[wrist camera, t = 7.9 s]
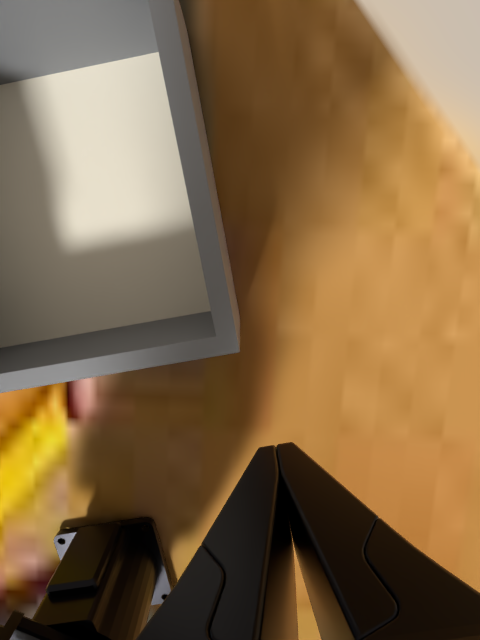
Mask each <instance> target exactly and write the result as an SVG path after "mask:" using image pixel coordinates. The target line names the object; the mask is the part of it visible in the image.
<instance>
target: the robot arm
mask: <svg viewBox="0 0 480 640" xmlns="http://www.w3.org/2000/svg"><path fill="white" fill-rule="evenodd" d="M276 449H277V450H276ZM289 522H290V523H289ZM144 525H146V526H148V527H145V526H144ZM290 528H291V529H290ZM291 533H292V534H291ZM62 538H63V539H62ZM292 538H293V541H292ZM293 543H294V547H295V551H296V555H297V559H298V562H299V565H300V569H301V572H302V575H303V579H304V582H305V585H306V589H307V592H308V595H309V599H310V602H311V606H312V609H313V612H314V616H315V619H316V622H317V626H318V629H319V632H320V636H321V639H322V640H480V593H479V592H478V591H476V590H475V589H473V588H472V587H470V586H469V585H468V584H466V583H465V582H463V581H462V580H460V579H459V578H457V577H456V576H455V575H453V574H452V573H450V572H449V571H447V570H446V569H445V568H443V567H442V566H440V565H439V564H438V563H436V562H435V561H434V560H432V559H431V558H429V557H428V556H427V555H425V554H424V553H423V552H421V551H420V550H418V549H417V548H416V547H414V546H413V545H412V544H411V543H410V542H408V541H407V540H406V539H405V538H403V537H402V536H401V535H400V534H399V533H397V532H396V531H395V530H394V529H392V528H391V527H390V526H389V525H388V524H387V523H386V522H384V521H383V520H382V519H381V518H379V517H378V516H377V515H376V514H375V513H374V512H373V511H372V510H370V509H369V508H368V507H367V506H366V505H365V504H363V503H362V502H361V501H360V500H359V499H358V498H357V497H355V496H354V495H353V494H352V493H351V492H350V491H348V490H347V489H346V488H345V487H344V486H343V485H342V484H340V483H339V482H338V481H337V480H336V479H335V478H333V477H332V476H331V475H330V474H329V473H328V472H327V471H325V470H324V469H323V468H322V467H321V466H320V465H318V464H317V463H316V462H315V461H314V460H313V459H312V458H310V457H309V456H308V455H307V454H306V453H305V452H303V451H302V450H301V449H300V448H299V447H298V446H297V445H295V444H294V443H292V442H289V443H283V444H278V445H277V447H275V446H274V445H271V446H265V447H260V448H259V449H258V450H257V452H256V453H255V455H254V457H253V458H252V460H251V462H250V463H249V465H248V467H247V468H246V470H245V472H244V473H243V475H242V477H241V478H240V480H239V482H238V483H237V485H236V487H235V488H234V490H233V492H232V493H231V495H230V497H229V498H228V500H227V502H226V503H225V505H224V507H223V508H222V510H221V512H220V513H219V515H218V517H217V518H216V520H215V522H214V523H213V525H212V527H211V528H210V530H209V532H208V533H207V535H206V537H205V538H204V540H203V542H202V544H201V545H202V546H200V547H199V548H198V550H197V552H196V553H195V555H194V557H193V558H192V560H191V561H190V563H189V565H188V566H187V568H186V569H185V571H184V572H183V574H182V576H181V577H180V579H179V580H178V582H177V583H176V585H175V586H174V587H173V586H172V583H171V579H170V576H169V572H168V568H167V565H166V561H165V558H164V554H163V550H162V547H161V543H160V540H159V536H158V533H157V529H156V525H155V522H154V520H153V519H151V518H149V517H144V518H138V519H131V520H124V521H118V522H111V523H105V524H98V525H91V526H85V527H78V528H72V529H65V530H61V531H59V532H58V533H57V535H56V536H55V538H54V544H55V547H56V549H57V552H58V555H59V558H60V560H61V561H60V563H59V565H58V567H57V569H56V570H55V572H54V574H53V576H52V578H51V579H50V581H49V583H48V585H47V587H46V594H45V596H44V598H43V600H42V602H41V604H40V606H39V607H38V609H37V611H36V613H35V615H34V617H33V619H29V618H27V617H25V616H24V613H21V612H19V611H17V610H14V611H13V613H12V615H11V616H10V618H9V619H8V621H7V623H6V624H5V626H3V625H0V640H298V623H297V604H296V584H295V565H294V550H293ZM155 604H161V606H160V607H159V608H158V610H157V611H156V612H155V614H154V615H153V616H152V618H151V619H150V620H149V622H148V623H147V619H148V615H149V611H150V607H151V605H155ZM146 623H147V624H146Z"/></svg>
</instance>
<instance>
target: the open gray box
mask: <svg viewBox="0 0 480 640" xmlns="http://www.w3.org/2000/svg"><path fill="white" fill-rule="evenodd" d="M239 352H240V315H239V309H238V304H237V298H236V293H235V287H234V282H233V276H232V271H231V266H230V260H229V255H228V249H227V244H226V238H225V233H224V228H223V222H222V217H221V211H220V206H219V200H218V195H217V190H216V184H215V179H214V173H213V168H212V162H211V157H210V152H209V146H208V141H207V135H206V130H205V124H204V119H203V114H202V108H201V103H200V97H199V92H198V86H197V81H196V76H195V70H194V65H193V59H192V54H191V48H190V43H189V38H188V32H187V29H186V25H185V21H184V17H183V14H182V10H181V6H180V2H179V0H0V393H3V392H9V391H15V390H21V389H27V388H32V387H38V386H44V385H50V384H56V383H62V382H68V381H74V380H80V379H85V378H91V377H97V376H103V375H109V374H115V373H121V372H127V371H133V370H138V369H144V368H150V367H156V366H162V365H168V364H174V363H180V362H186V361H191V360H197V359H203V358H209V357H215V356H221V355H227V354H233V353H239Z"/></svg>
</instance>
